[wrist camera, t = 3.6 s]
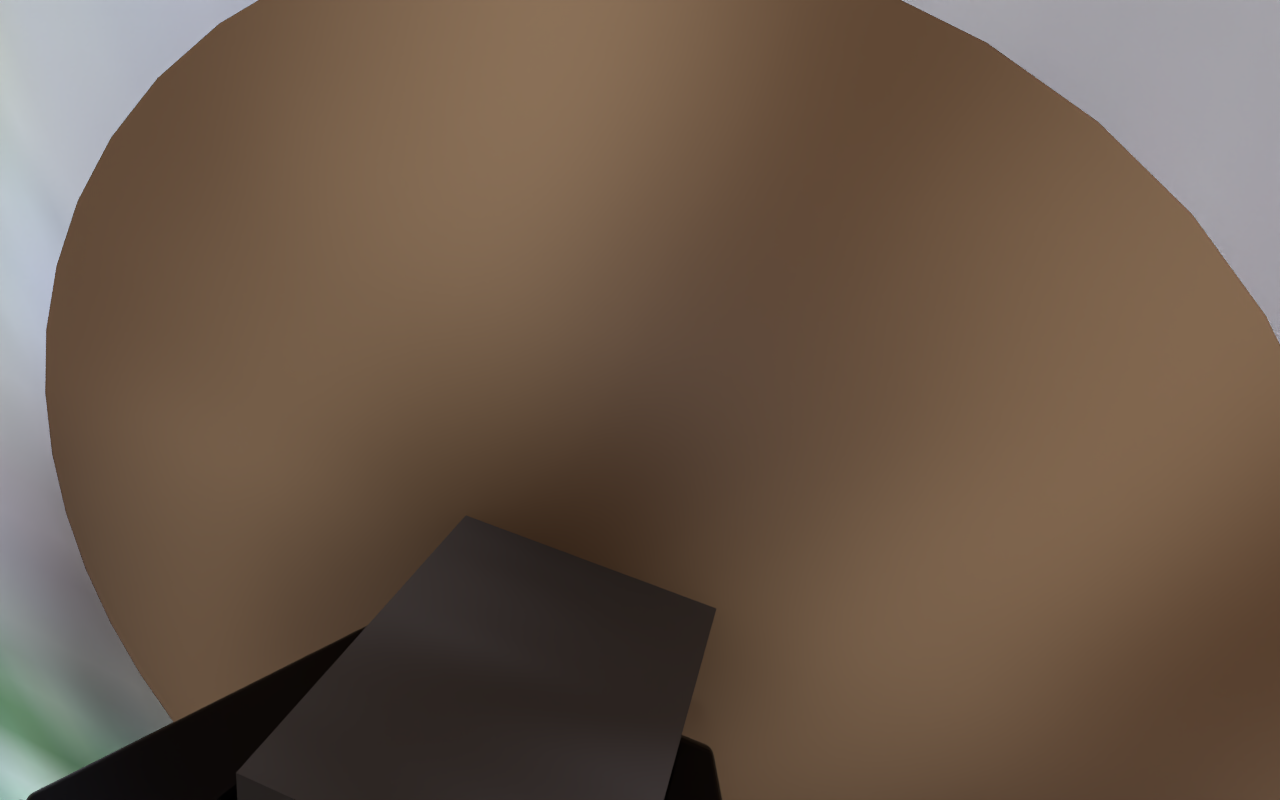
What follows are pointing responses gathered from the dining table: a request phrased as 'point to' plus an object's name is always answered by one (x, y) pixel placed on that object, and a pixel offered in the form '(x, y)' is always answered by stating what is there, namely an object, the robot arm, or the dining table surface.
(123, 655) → the dining table surface
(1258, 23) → the dining table surface
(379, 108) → the walnut lid
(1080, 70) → the dining table surface
